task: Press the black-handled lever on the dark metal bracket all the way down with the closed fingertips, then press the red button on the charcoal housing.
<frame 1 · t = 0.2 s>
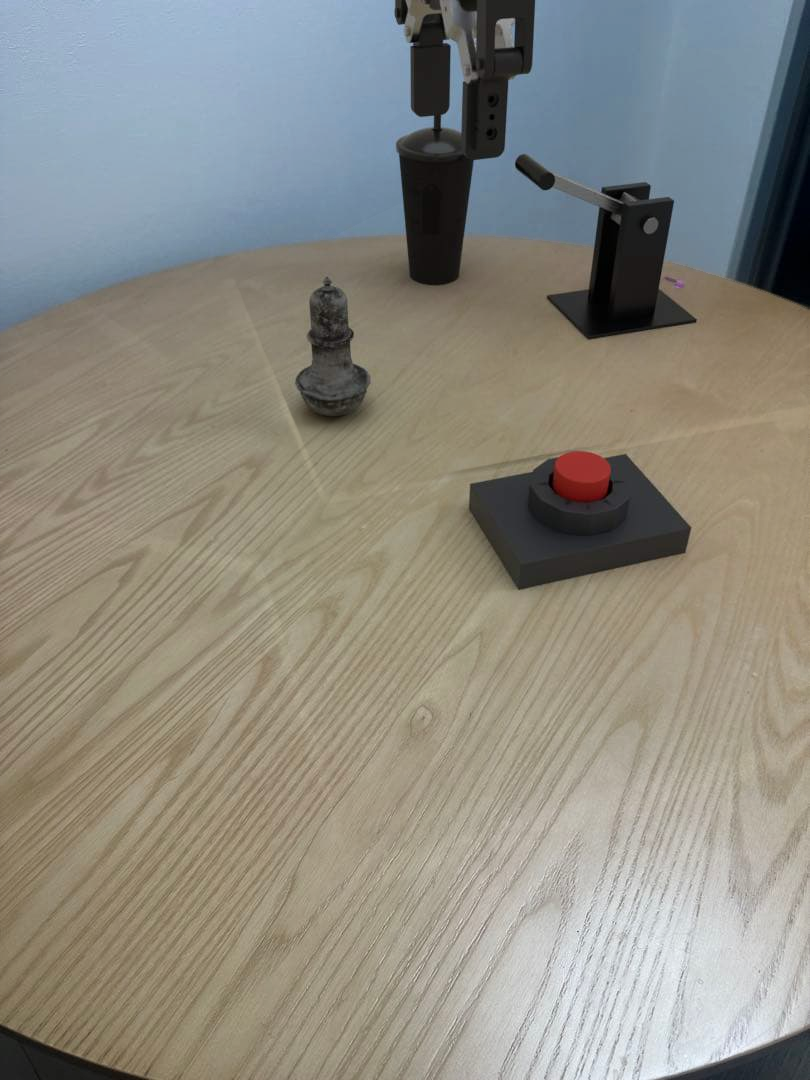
hand: (454, 134, 53), 24 cm above the table, tool pointing down, fingers open, 8 cm apart
lever bracket: (618, 318, 89), on the table
drinking cup: (434, 284, 96), on the table
press lever: (589, 194, 81), point 12 cm above the table, hinge at 25.0°
start button: (581, 477, 62), point 4 cm above the table, slide at 0.1 cm
button box: (573, 530, 65), on the table
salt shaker: (335, 420, 76), on the table
earpods: (671, 292, 94), on the table
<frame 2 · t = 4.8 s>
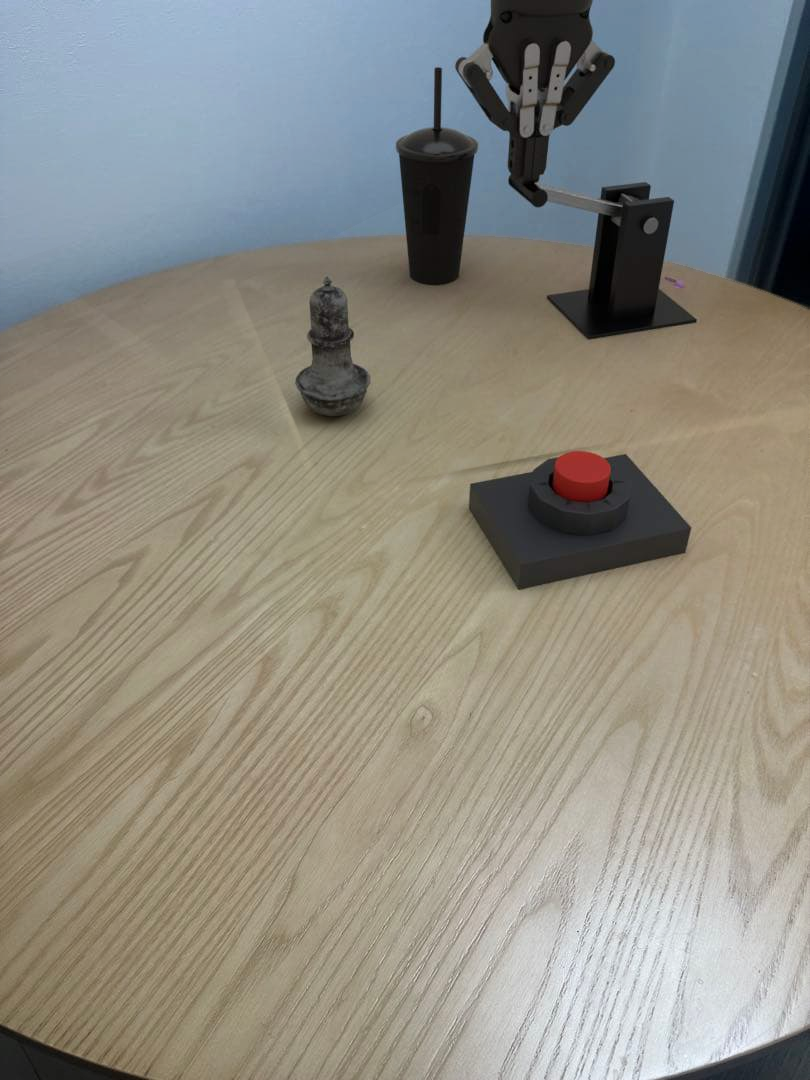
hand: (525, 180, 78), 14 cm above the table, tool pointing down, fingers closed
press lever: (585, 202, 81), point 12 cm above the table, hinge at 17.5°, touching gripper
everything else where it was.
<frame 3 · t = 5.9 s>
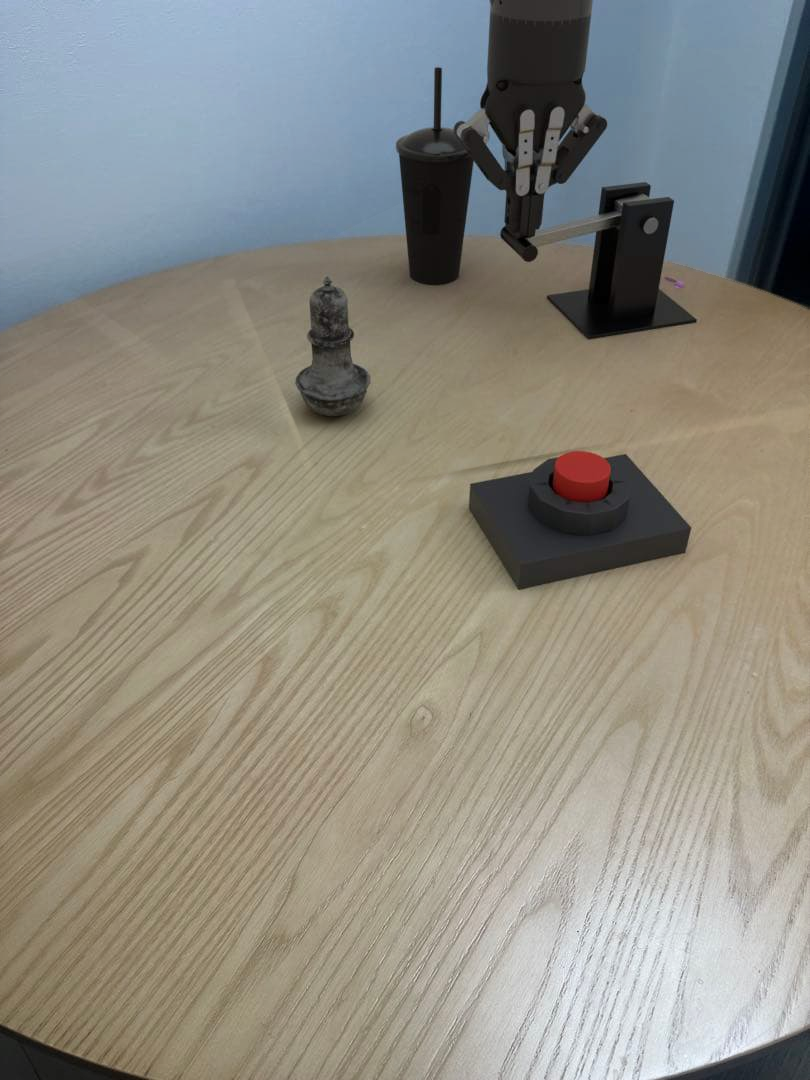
hand: (522, 234, 81), 9 cm above the table, tool pointing down, fingers closed
press lever: (580, 227, 82), point 9 cm above the table, hinge at -6.7°, touching gripper
everything else where it was.
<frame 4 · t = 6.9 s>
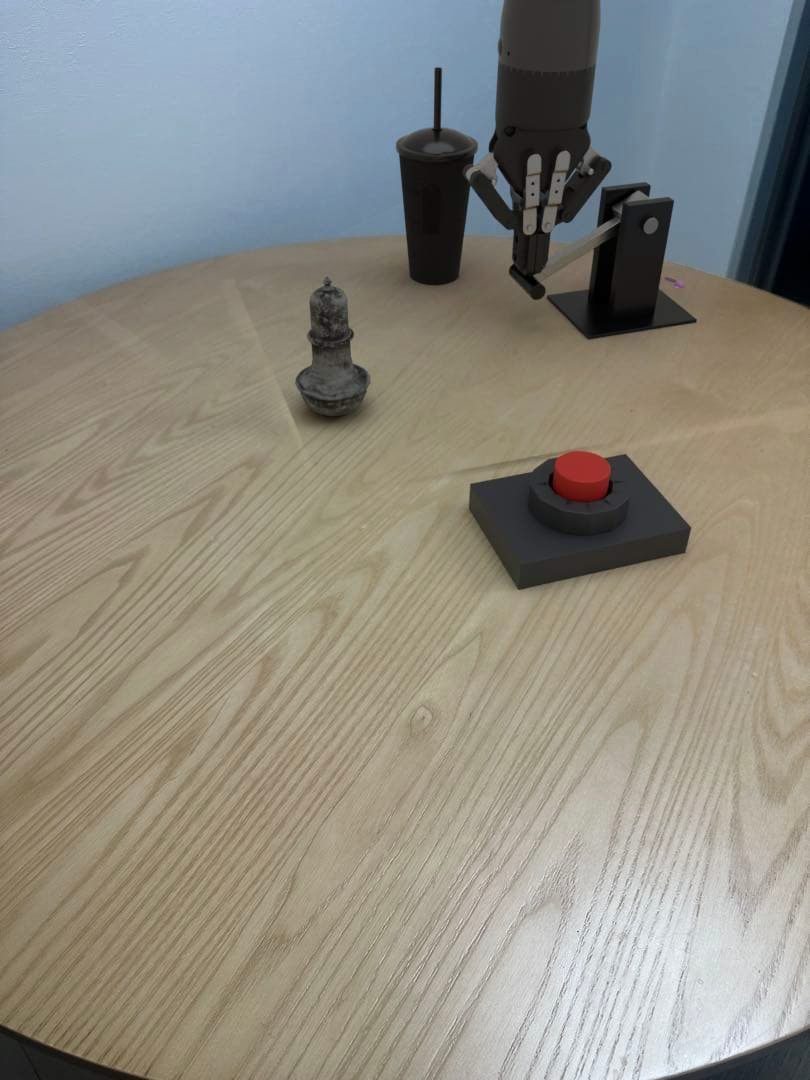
hand: (529, 270, 83), 6 cm above the table, tool pointing down, fingers closed
press lever: (583, 245, 83), point 8 cm above the table, hinge at -26.4°, touching gripper
everything else where it was.
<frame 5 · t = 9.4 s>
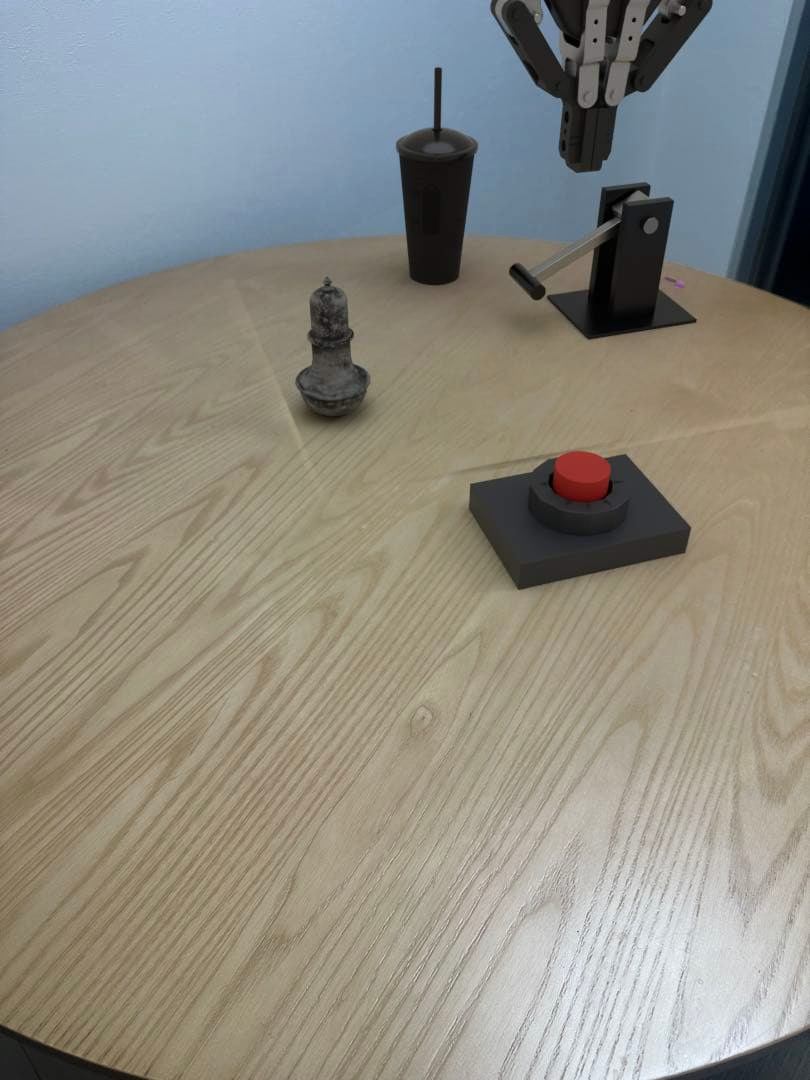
hand: (582, 168, 57), 22 cm above the table, tool pointing down, fingers closed
press lever: (583, 245, 83), point 8 cm above the table, hinge at -26.6°
everything else where it was.
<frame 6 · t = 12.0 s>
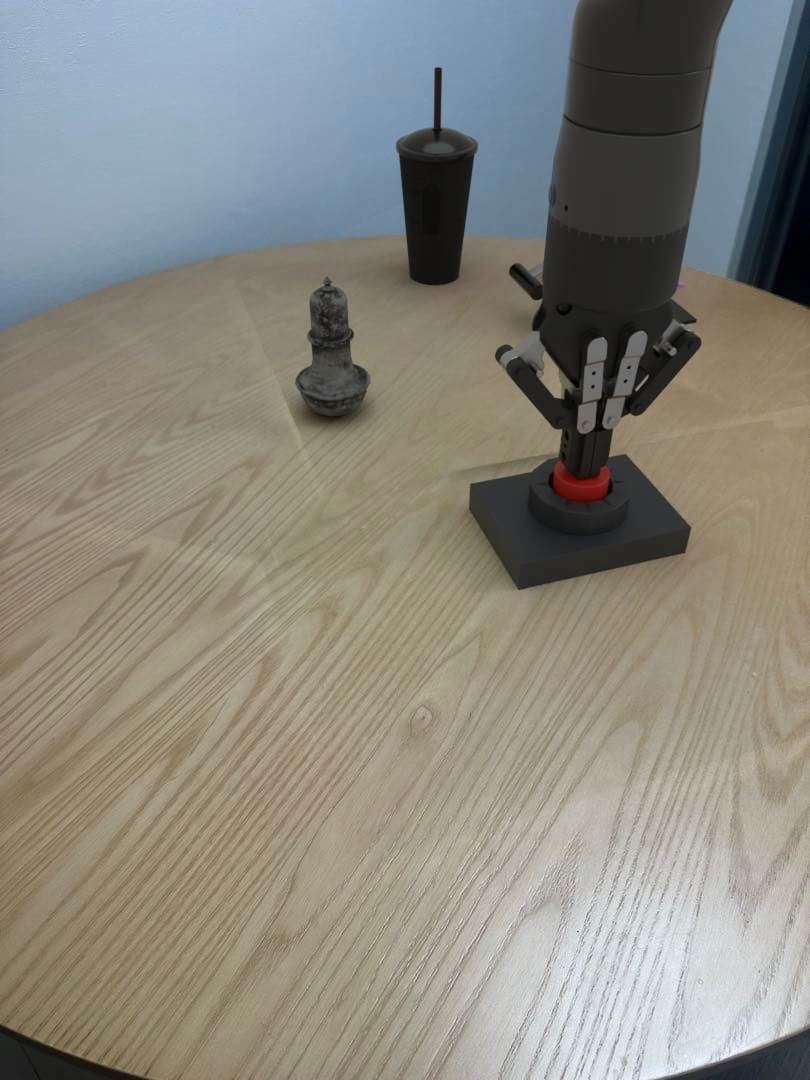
hand: (582, 471, 61), 5 cm above the table, tool pointing down, fingers closed
start button: (580, 481, 62), point 4 cm above the table, slide at -0.3 cm, touching gripper
everything else where it was.
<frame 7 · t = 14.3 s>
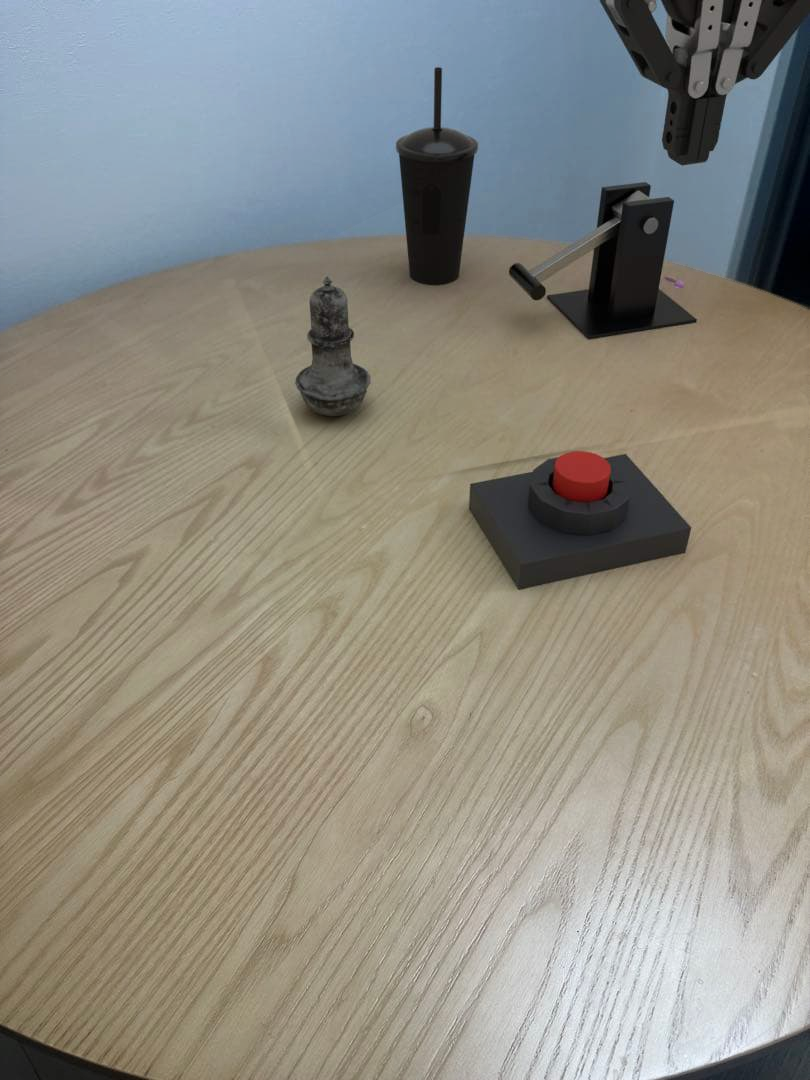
hand: (686, 159, 55), 23 cm above the table, tool pointing down, fingers closed
start button: (581, 477, 62), point 4 cm above the table, slide at 0.1 cm
everything else where it was.
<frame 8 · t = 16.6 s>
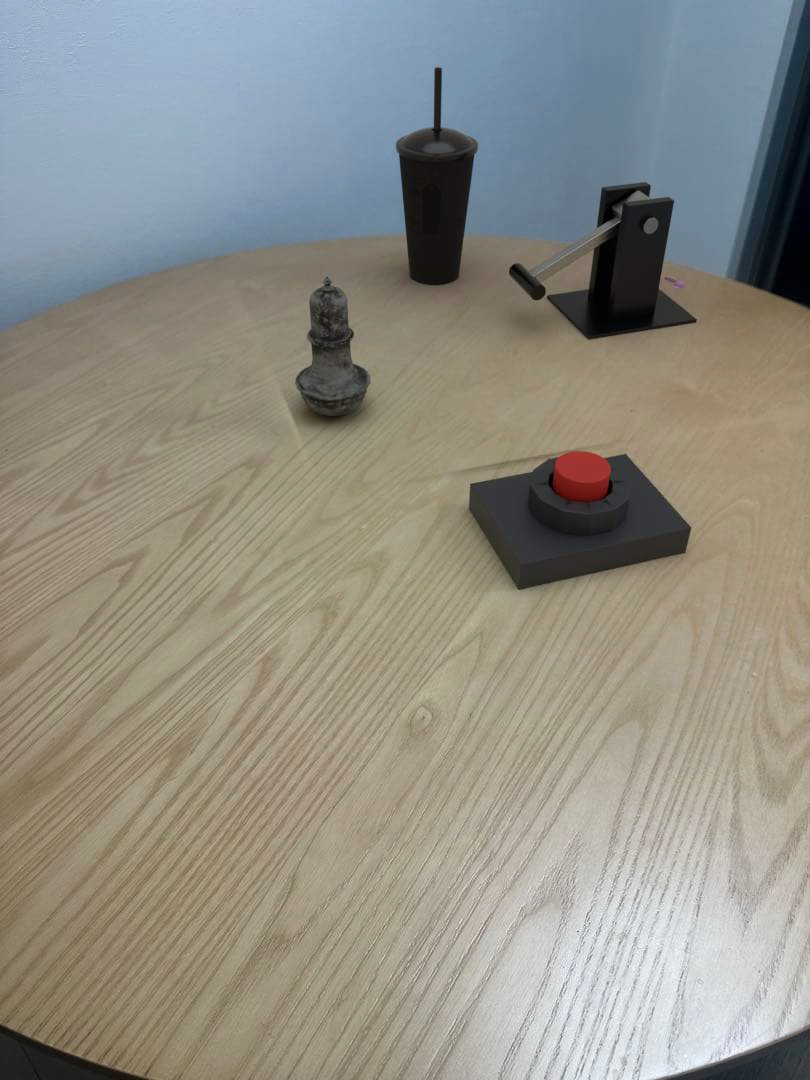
nothing on the table moved.
at the end: press lever at -27° (first picture: +25°); start button pushed in 1.0 cm at the most during the clip, back to where it started at the end; start button slide at 0.1 cm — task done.
